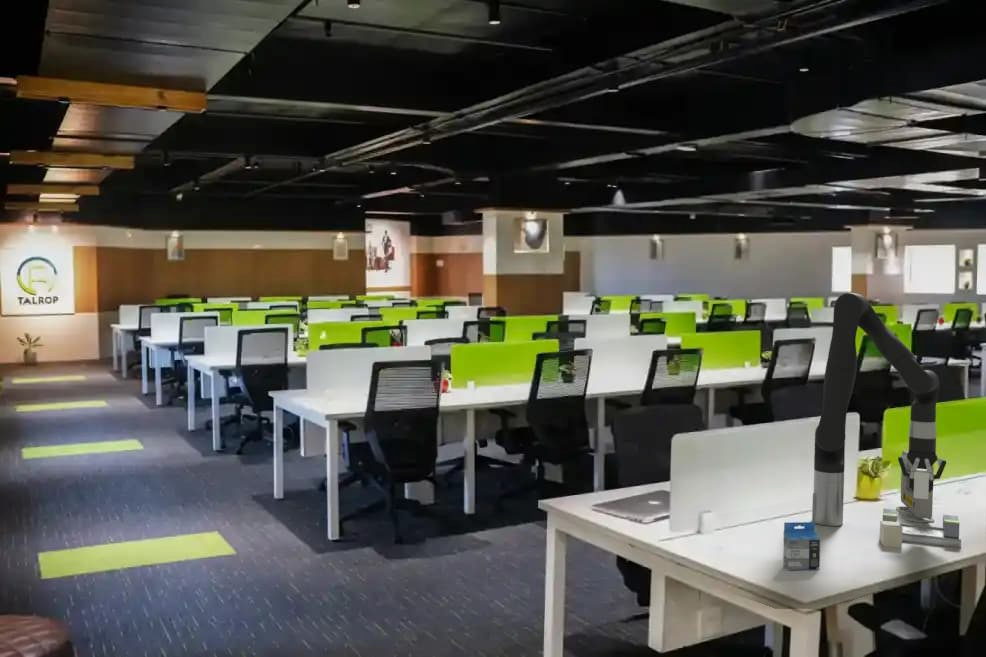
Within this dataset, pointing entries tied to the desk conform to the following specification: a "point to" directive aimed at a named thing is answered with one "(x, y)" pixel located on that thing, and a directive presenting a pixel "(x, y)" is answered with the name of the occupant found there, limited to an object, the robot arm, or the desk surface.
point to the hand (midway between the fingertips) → (921, 490)
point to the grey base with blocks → (929, 531)
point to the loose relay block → (891, 533)
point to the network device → (916, 505)
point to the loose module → (921, 484)
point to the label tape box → (801, 547)
